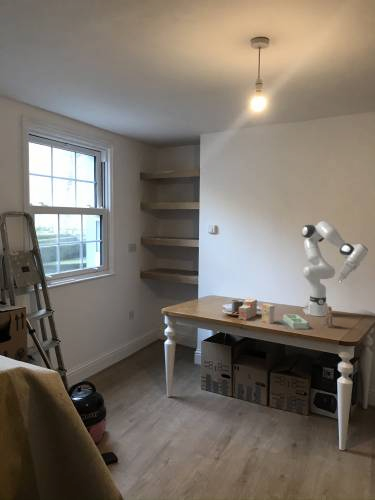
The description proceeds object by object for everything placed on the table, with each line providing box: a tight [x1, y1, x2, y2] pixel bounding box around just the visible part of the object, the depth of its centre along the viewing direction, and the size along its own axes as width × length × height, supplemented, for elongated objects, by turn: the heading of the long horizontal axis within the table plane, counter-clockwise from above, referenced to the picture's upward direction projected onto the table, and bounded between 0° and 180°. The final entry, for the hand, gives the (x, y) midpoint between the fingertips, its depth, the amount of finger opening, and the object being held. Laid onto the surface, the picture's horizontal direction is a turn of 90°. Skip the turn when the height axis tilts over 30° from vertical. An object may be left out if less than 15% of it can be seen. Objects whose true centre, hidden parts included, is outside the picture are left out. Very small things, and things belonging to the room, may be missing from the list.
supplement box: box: [261, 303, 275, 324], centre depth 276 cm, size 8×5×13 cm, turn 31°
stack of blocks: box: [238, 298, 258, 321], centre depth 291 cm, size 21×6×12 cm, turn 149°
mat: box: [276, 319, 315, 330], centre depth 271 cm, size 22×20×1 cm
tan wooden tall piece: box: [322, 306, 335, 329], centre depth 266 cm, size 7×5×14 cm
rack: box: [282, 313, 310, 330], centre depth 271 cm, size 24×10×4 cm, turn 4°
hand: (338, 281), depth 267 cm, fingers open, 8 cm apart
